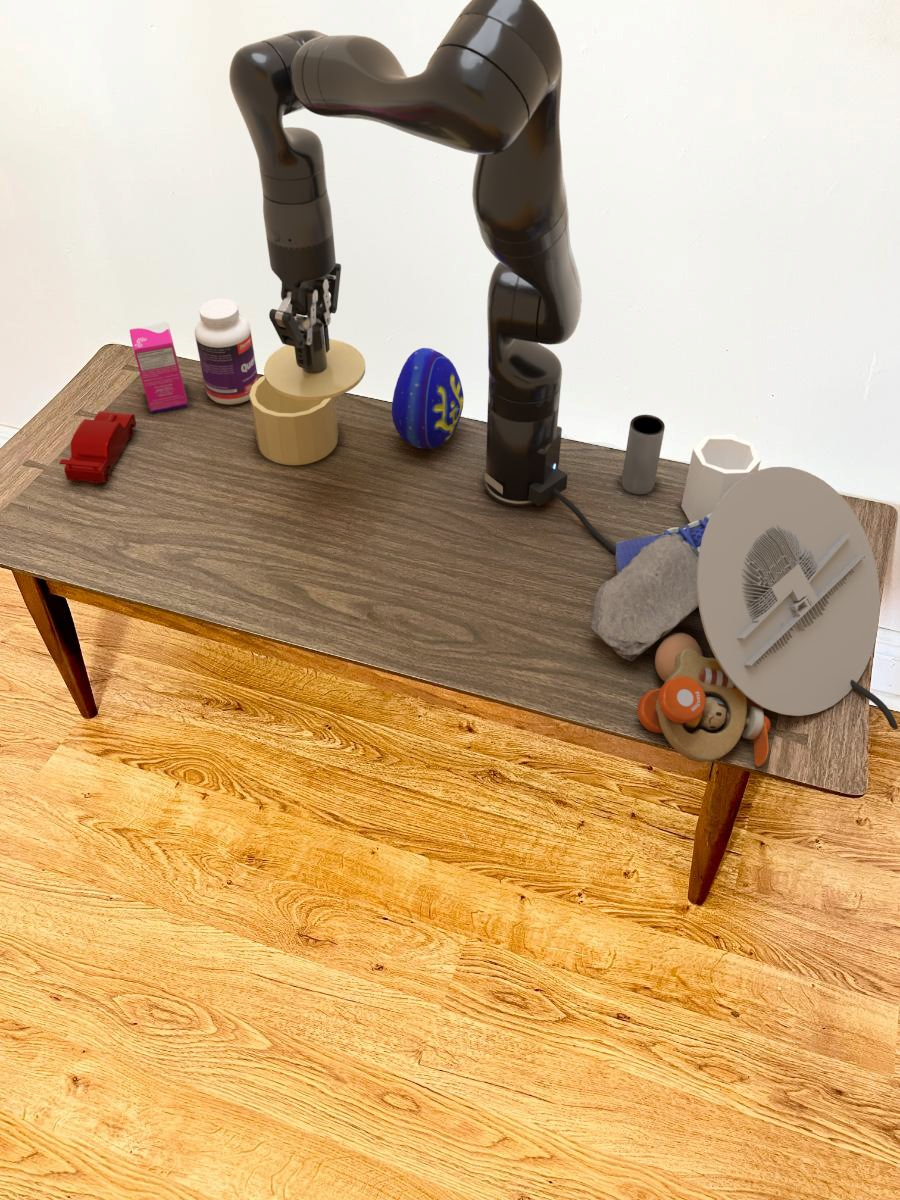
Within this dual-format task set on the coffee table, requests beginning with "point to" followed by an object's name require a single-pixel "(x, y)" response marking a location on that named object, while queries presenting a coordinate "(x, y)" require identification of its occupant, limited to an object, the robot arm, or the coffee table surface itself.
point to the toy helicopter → (703, 711)
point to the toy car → (98, 446)
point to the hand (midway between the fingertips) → (313, 358)
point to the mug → (716, 472)
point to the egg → (673, 653)
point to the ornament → (427, 399)
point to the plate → (788, 591)
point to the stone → (647, 596)
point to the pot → (292, 426)
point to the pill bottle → (225, 352)
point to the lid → (315, 369)
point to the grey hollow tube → (642, 454)
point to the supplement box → (158, 367)
